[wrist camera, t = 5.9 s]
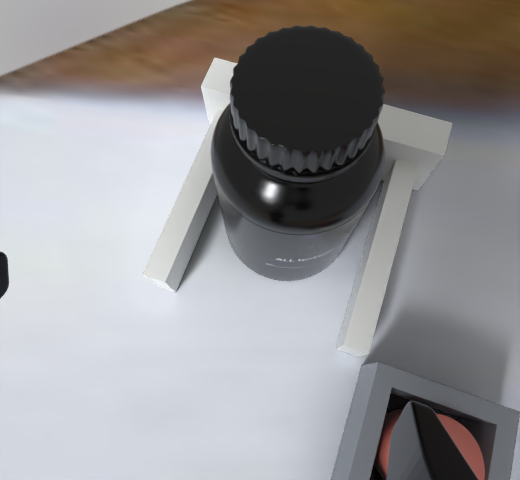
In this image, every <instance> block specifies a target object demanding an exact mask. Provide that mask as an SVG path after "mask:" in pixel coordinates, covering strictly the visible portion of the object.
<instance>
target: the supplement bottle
mask: <svg viewBox="0 0 520 480" xmlns="http://www.w3.org/2000/svg"><path fill="white" fill-rule="evenodd" d="M382 83H383V77H382V76H381V74H380V73H379V66H378V65H377V64H376V63H375V62H374V61H373V58H372V55H371V54H369V53H367V52H366V51H365V49H364V47H363V46H362V45H360V44H357V43H356V42H355V41H354V40H353V39H352V38H351V37H347V36H344V35H343V34H341V33H340V32H338V31H331V30H329V29H327V28H325V27H322V28H317V27H314V26H306V27H302V26H294V27H292V28H282V29H280V30H278V31H274V32H269V33H268V34H267V35H266V36H265V37H261V38H258V39H257V40H256V41H255V43H254V44H253V45H250V46H248V47H247V49H246V52H245V53H244V54H242V55H241V56H240V57H239V61H238V64H237V65H236V66H235V67H234V69H233V77H232V78H231V80H230V91H231V92H230V103H229V104H228V105H227V107H226V108H225V109H224V111H223V112H222V114H221V116H220V117H219V119H218V121H217V124H216V126H215V129H214V132H213V136H212V141H211V165H212V171H213V176H214V180H215V185H216V189H217V193H218V198H219V202H220V206H221V211H222V215H223V219H224V224H225V228H226V232H227V236H228V239H229V242H230V244H231V246H232V248H233V250H234V252H235V253H236V255H237V256H238V257H239V259H240V260H241V261H242V262H243V263H244V264H245V265H246V266H247V267H248V268H250V269H251V270H253V271H254V272H256V273H258V274H260V275H262V276H264V277H267V278H270V279H275V280H281V281H295V280H301V279H305V278H308V277H311V276H313V275H315V274H317V273H319V272H321V271H322V270H324V269H325V268H326V267H328V266H329V265H330V264H331V263H332V262H333V261H334V260H335V259H336V257H337V256H338V255H339V253H340V252H341V250H342V249H343V247H344V245H345V244H346V242H347V240H348V239H349V237H350V235H351V233H352V232H353V230H354V228H355V227H356V225H357V223H358V221H359V220H360V218H361V216H362V215H363V213H364V211H365V209H366V208H367V206H368V204H369V203H370V201H371V199H372V197H373V196H374V194H375V192H376V190H377V188H378V185H379V183H380V180H381V178H382V175H383V171H384V165H385V144H384V139H383V135H382V131H381V129H380V126H379V124H378V119H379V115H380V113H381V111H382V108H383V97H384V93H385V90H384V88H383V86H382Z"/></svg>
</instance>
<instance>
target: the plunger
mask: <svg viewBox="0 0 520 480" xmlns="http://www.w3.org/2000/svg"><path fill="white" fill-rule="evenodd" d="M403 410H404V409H398V410H394V411H392V412H389V413H388V414H386V415H385V418H384V422H383V426H382V431H381V435H380V439H379V443H378V447H377V451H376V455H375V460H374V465H375V467H376V469H377V471H378V472H379V474H380V475H381V477H382V478H383V479H384V480H386V478H387V468H388V458H389V448H390V439H391V434H392V430H393V428H394V426H395V424H396V422H397V420H398V419H399V417H400V415H401V413H402V411H403ZM436 415H437V416H438V418H439V419H440V421H441V423H442V424H443V426H444V427H445V429H446V430H447V432H448V433H449V435H450V436H451V438H452V439H453V441H454V443H455V444H456V446H457V447H458V449H459V450H460V452H461V453H462V455H463V456H464V458H465V459H466V461H467V463H468V464H469V466H470V467H471V469H472V470H473V472H474V473H475V475H476V476H477V478H478V479H479V480H484V478H485V466H484V460H483V456H482V453H481V450H480V447H479V445H478V444H477V442H476V440H475V439H474V437H473V436H472V434H471V433H470V432H469V431H468V430H467V429H466V428H465V427H464V426H463V425H462V424H460V423H459V422H457V421H456V420H454V419H452V418H450V417H448V416H445V415H441V414H436Z"/></svg>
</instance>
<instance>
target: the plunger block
mask: <svg viewBox="0 0 520 480" xmlns="http://www.w3.org/2000/svg"><path fill="white" fill-rule="evenodd" d="M390 393H393V394H395V395H398V396H401V397H404V398H406V399H409V400H412V401H415V402H418V403H421V404H424V405H427V406H429V407H431V408H434V409H437V410H440V411H442V412H445V413H448V414H451V415H453V416H456V417H459V418H461V419H460V424H462V425H463V426H464V427H465V428H466V429H467V430H468V431H469V432H470V433H471V434H472V436H473V437H474V439H475V440H476V442H477V444H478V445H479V447H480V450H481V453H482V456H483V460H484V466H485V478H484V480H510V475H511V469H512V462H513V455H514V448H515V442H516V435H517V428H518V422H519V415H520V412H519V411H516V410H513V409H510V408H507V407H504V406H502V405H499V404H496V403H493V402H490V401H487V400H485V399H482V398H479V397H476V396H473V395H471V394H468V393H465V392H462V391H459V390H456V389H454V388H451V387H448V386H445V385H442V384H439V383H437V382H434V381H431V380H428V379H425V378H423V377H420V376H417V375H414V374H411V373H408V372H406V371H403V370H400V369H397V368H394V367H391V366H389V365H386V364H383V363H380V362H375V363H370V364H365V365H362V366H361V369H360V373H359V377H358V381H357V384H356V388H355V392H354V396H353V399H352V403H351V407H350V411H349V414H348V418H347V422H346V426H345V429H344V433H343V437H342V440H341V444H340V448H339V452H338V455H337V459H336V463H335V467H334V470H333V474H332V478H331V480H370V476H371V472H372V468H373V464H374V460H375V455H376V451H377V447H378V443H379V439H380V435H381V431H382V426H383V422H384V418H385V414H386V410H387V406H388V402H389V397H390Z"/></svg>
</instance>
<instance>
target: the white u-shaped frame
mask: <svg viewBox="0 0 520 480" xmlns="http://www.w3.org/2000/svg"><path fill="white" fill-rule="evenodd" d="M236 65H237V64H236V63H233V62H229V61H226V60H222V59H218V58H214V60H213V62H212V64H211V66H210V68H209V71H208V73H207V75H206V77H205V79H204V81H203V83H202V85H201V89H202V93H203V97H204V102H205V106H206V110H207V115H208V119H209V124H210V127H209V129H208V131H207V134H206V136H205V138H204V140H203V142H202V145H201V147H200V149H199V151H198V153H197V156H196V158H195V160H194V162H193V164H192V167H191V169H190V171H189V173H188V175H187V178H186V180H185V182H184V184H183V187H182V189H181V191H180V193H179V195H178V198H177V200H176V202H175V204H174V206H173V209H172V211H171V213H170V215H169V217H168V220H167V222H166V224H165V226H164V228H163V231H162V233H161V235H160V237H159V239H158V242H157V244H156V246H155V248H154V251H153V253H152V255H151V257H150V259H149V262H148V264H147V266H146V268H145V270H144V273H143V275H144V276H145V277H147V278H148V279H149V280H150V281H151V282H152V283H154V284H155V285H156V286H159V287H162V288H165V289H167V290H170V291H173V292H176V291H177V289H178V286H179V284H180V281H181V279H182V277H183V274H184V272H185V270H186V267H187V265H188V262H189V260H190V258H191V255H192V253H193V251H194V248H195V246H196V243H197V241H198V239H199V236H200V234H201V232H202V229H203V227H204V225H205V222H206V220H207V217H208V215H209V213H210V210H211V208H212V206H213V203H214V201H215V198H216V196H217V194H218V193H217V189H216V185H215V180H214V176H213V171H212V165H211V141H212V136H213V132H214V129H215V126H216V124H217V121H218V119H219V117H220V116H221V114H222V112H223V111H224V109H225V108H226V107H227V105H228V104H229V103H230V92H231V91H230V80H231V78H232V77H233V69H234V67H235V66H236ZM378 124H379V126H380V129H381V131H382V135H383V139H384V144H385V165H384V171H383V175H382V178H381V180H383V181H384V183H383V186H382V190H381V193H380V197H379V200H378V204H377V207H376V211H375V214H374V218H373V221H372V224H371V228H370V231H369V235H368V238H367V242H366V245H365V249H364V252H363V256H362V259H361V263H360V266H359V269H358V273H357V276H356V280H355V283H354V287H353V290H352V294H351V297H350V301H349V304H348V307H347V311H346V314H345V318H344V321H343V325H342V328H341V332H340V335H339V339H338V342H337V345H336V350H339V351H342V352H345V353H348V354H350V355H353V356H356V357H360V356H364V355H367V354H369V351H370V348H371V344H372V340H373V336H374V332H375V329H376V325H377V321H378V317H379V313H380V310H381V306H382V302H383V298H384V295H385V291H386V287H387V283H388V279H389V276H390V272H391V268H392V264H393V261H394V257H395V253H396V249H397V245H398V242H399V238H400V234H401V230H402V226H403V223H404V219H405V215H406V211H407V208H408V204H409V200H410V196H411V192H412V189H413V190H416V191H418V190H419V189H420V187H421V186H422V185H423V183H424V182H425V181H426V180H427V178H428V177H429V176H430V174H431V173H432V172H433V170H434V169H435V168H436V167H437V165H438V164H439V163H440V161H441V160H442V159H443V157H444V156H445V153H446V148H447V144H448V140H449V136H450V132H451V128H452V124H453V123H451V122H447V121H444V120H440V119H436V118H433V117H429V116H425V115H422V114H418V113H415V112H411V111H407V110H404V109H400V108H396V107H393V106H389V105H385V104H383V108H382V111H381V113H380V115H379V119H378Z"/></svg>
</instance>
